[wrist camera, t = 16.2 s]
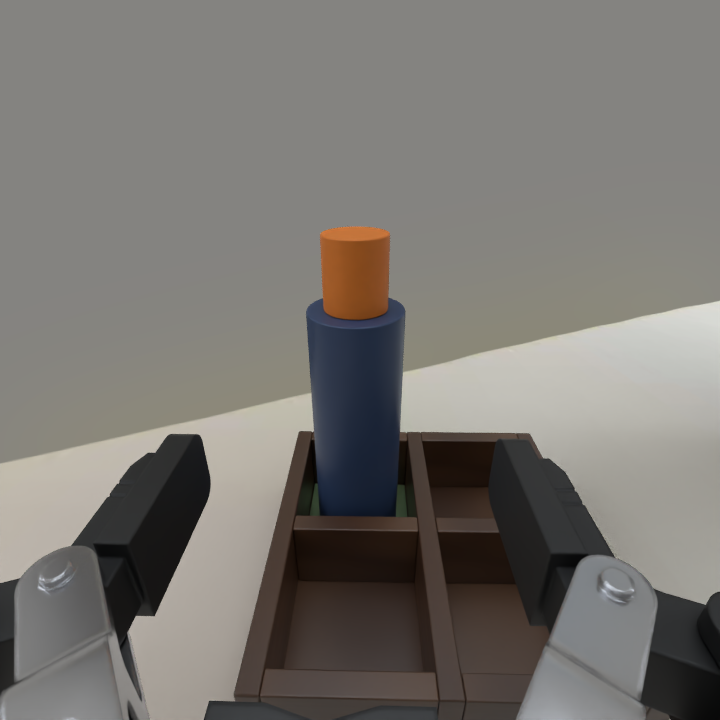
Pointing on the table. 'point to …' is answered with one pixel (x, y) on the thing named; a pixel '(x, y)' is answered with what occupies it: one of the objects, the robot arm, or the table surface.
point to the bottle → (356, 375)
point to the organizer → (394, 595)
